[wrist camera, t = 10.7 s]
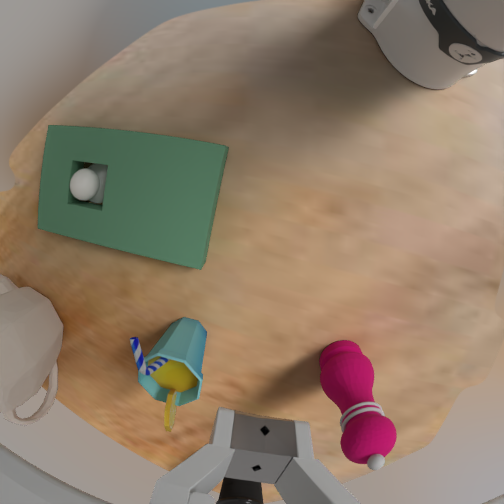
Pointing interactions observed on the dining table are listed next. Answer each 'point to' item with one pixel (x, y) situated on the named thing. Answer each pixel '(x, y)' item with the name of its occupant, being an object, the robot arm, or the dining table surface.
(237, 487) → the drinking cup
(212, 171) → the putting mat
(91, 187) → the ball
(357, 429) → the pepper mill
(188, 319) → the cup
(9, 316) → the watering can
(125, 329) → the dining table surface
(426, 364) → the dining table surface
